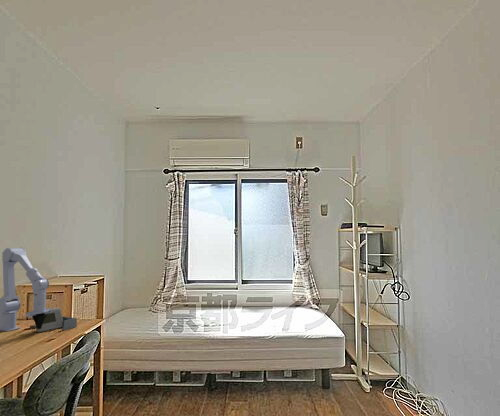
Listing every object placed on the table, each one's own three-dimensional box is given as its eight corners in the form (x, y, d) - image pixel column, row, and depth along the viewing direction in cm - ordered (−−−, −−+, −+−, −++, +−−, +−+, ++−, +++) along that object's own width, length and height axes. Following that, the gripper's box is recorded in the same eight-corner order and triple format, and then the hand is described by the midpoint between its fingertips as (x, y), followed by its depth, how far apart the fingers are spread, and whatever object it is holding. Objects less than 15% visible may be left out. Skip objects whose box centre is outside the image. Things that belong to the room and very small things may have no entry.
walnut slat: (34, 329, 232) (35, 326, 232) (29, 329, 232) (30, 325, 233) (48, 324, 244) (48, 321, 244) (43, 324, 244) (43, 321, 244)
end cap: (43, 328, 234) (44, 318, 234) (57, 324, 243) (57, 315, 243) (63, 330, 229) (64, 321, 229) (76, 327, 237) (76, 318, 237)
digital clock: (36, 333, 222) (37, 312, 222) (29, 330, 228) (30, 310, 228) (67, 328, 234) (67, 308, 235) (59, 325, 240) (59, 306, 241)
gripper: (33, 305, 215) (32, 332, 214) (56, 300, 228) (55, 326, 228) (23, 304, 218) (22, 331, 217) (46, 299, 231) (45, 325, 230)
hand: (38, 328), depth 222 cm, fingers closed
